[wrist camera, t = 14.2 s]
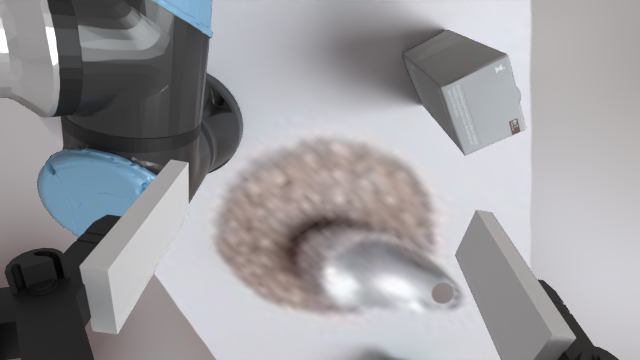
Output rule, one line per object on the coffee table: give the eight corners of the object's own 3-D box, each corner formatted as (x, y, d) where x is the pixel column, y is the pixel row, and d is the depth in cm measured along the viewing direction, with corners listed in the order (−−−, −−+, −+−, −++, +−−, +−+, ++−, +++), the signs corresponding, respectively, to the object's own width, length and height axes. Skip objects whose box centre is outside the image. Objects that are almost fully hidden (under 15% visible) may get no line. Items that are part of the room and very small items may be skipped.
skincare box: (400, 52, 46) (429, 86, 33) (455, 24, 45) (510, 48, 31) (423, 109, 50) (458, 161, 36) (474, 86, 48) (532, 131, 34)
